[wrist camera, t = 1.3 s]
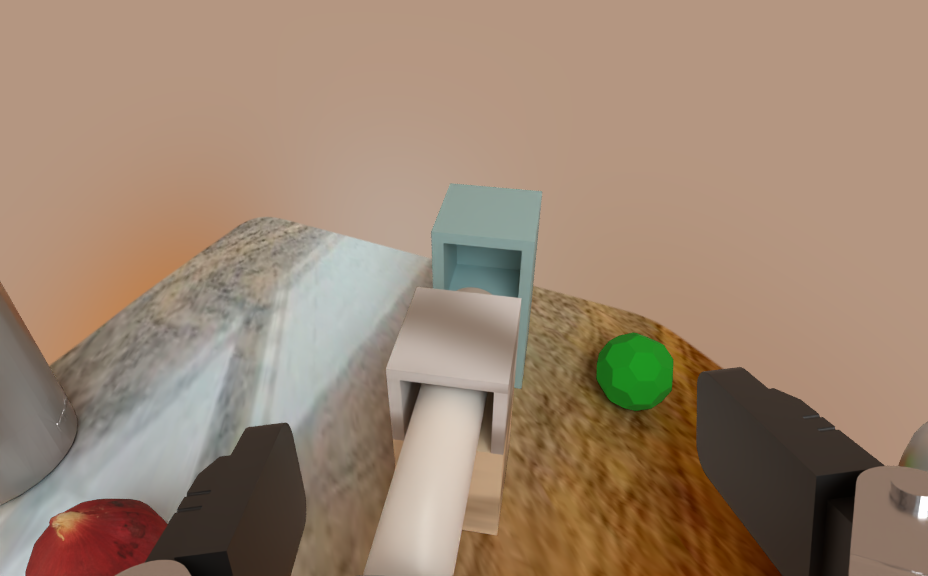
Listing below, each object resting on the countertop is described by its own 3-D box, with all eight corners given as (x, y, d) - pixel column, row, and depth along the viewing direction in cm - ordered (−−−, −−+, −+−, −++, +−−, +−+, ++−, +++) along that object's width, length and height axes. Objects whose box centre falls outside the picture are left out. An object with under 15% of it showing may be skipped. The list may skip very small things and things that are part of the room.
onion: (150, 528, 33) (98, 434, 28) (217, 589, 31) (172, 497, 26) (41, 619, 29) (-42, 528, 24) (107, 697, 27) (30, 613, 22)
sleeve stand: (497, 535, 33) (508, 384, 26) (400, 519, 34) (385, 368, 27) (509, 446, 38) (521, 298, 31) (424, 434, 38) (416, 286, 31)
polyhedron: (656, 370, 43) (670, 319, 40) (675, 425, 39) (692, 373, 36) (586, 369, 43) (595, 319, 40) (597, 424, 39) (609, 372, 36)
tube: (466, 697, 21) (468, 630, 18) (325, 669, 22) (303, 600, 19) (516, 349, 35) (523, 277, 32) (429, 338, 36) (427, 267, 33)
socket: (521, 388, 42) (535, 241, 34) (435, 377, 42) (431, 231, 35) (528, 331, 46) (542, 191, 39) (451, 322, 47) (450, 183, 40)
